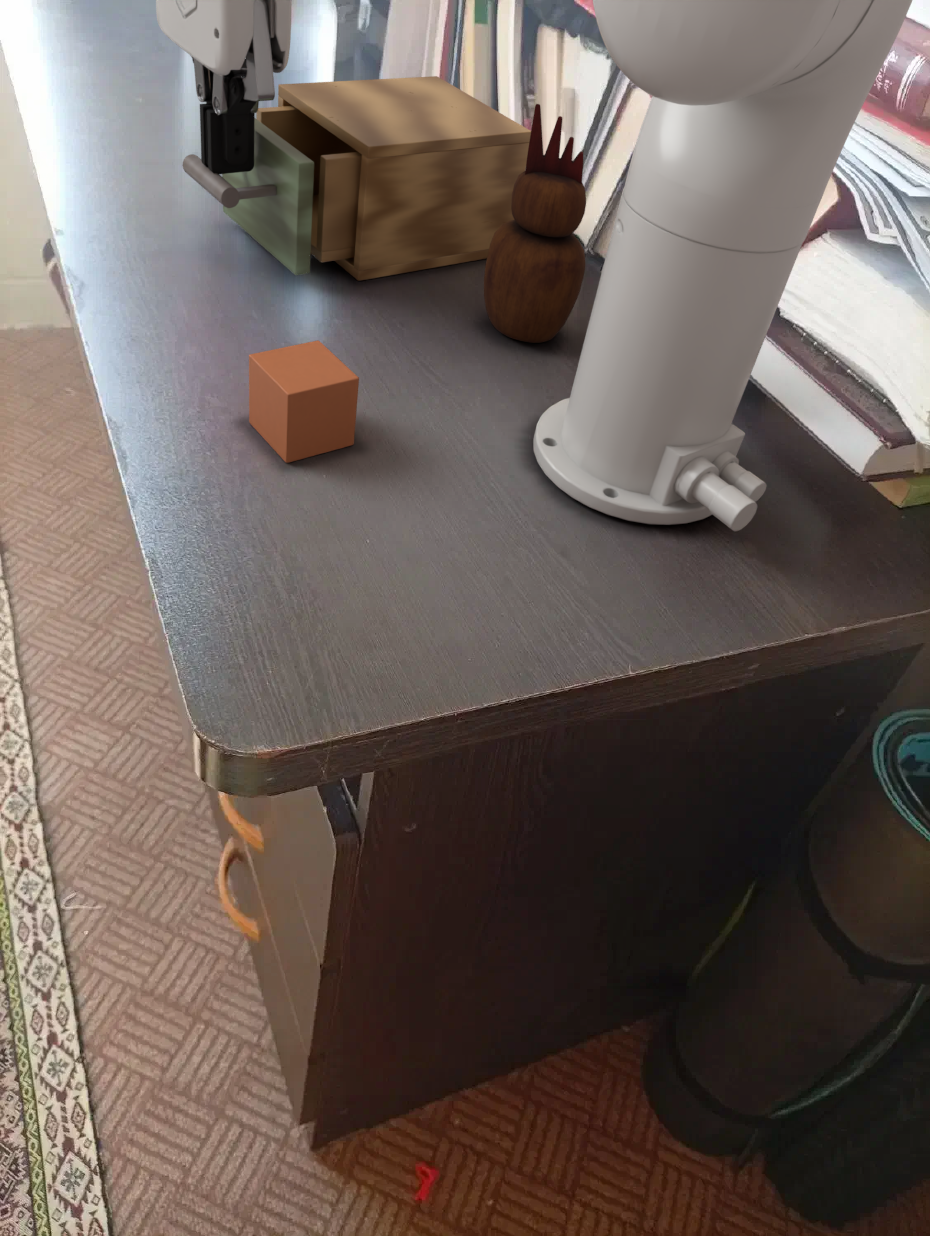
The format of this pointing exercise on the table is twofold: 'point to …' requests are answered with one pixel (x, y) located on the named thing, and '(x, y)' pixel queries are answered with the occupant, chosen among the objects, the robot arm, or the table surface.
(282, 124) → the drawer
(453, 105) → the cabinet
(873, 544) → the table surface
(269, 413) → the block
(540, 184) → the wooden figurine
